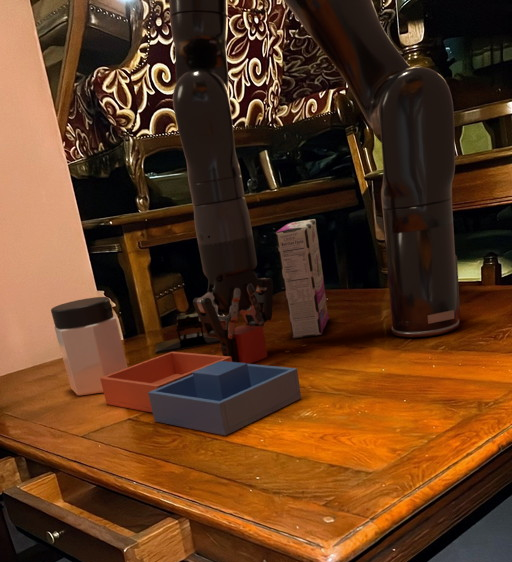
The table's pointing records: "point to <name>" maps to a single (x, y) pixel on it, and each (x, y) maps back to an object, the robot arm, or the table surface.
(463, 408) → the table surface
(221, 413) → the blue bin
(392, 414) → the table surface
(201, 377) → the blue block
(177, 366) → the terracotta bin
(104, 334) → the jar
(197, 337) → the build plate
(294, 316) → the candy bar box
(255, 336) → the red block
